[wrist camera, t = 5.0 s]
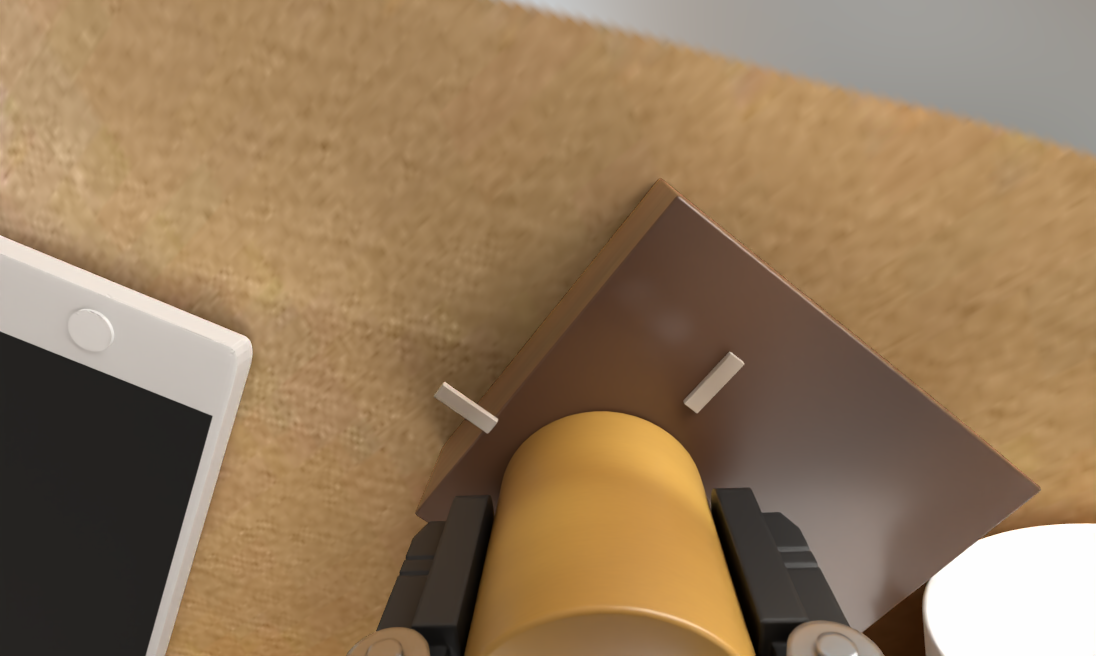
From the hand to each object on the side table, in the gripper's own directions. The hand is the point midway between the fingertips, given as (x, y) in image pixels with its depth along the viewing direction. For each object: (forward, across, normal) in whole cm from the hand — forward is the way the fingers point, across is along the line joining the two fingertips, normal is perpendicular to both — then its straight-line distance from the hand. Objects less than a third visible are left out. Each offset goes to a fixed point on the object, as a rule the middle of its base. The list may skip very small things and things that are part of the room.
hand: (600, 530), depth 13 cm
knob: (+1, 0, 0) cm, 1 cm away
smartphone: (+4, +15, +2) cm, 16 cm away
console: (+4, -2, 0) cm, 5 cm away
